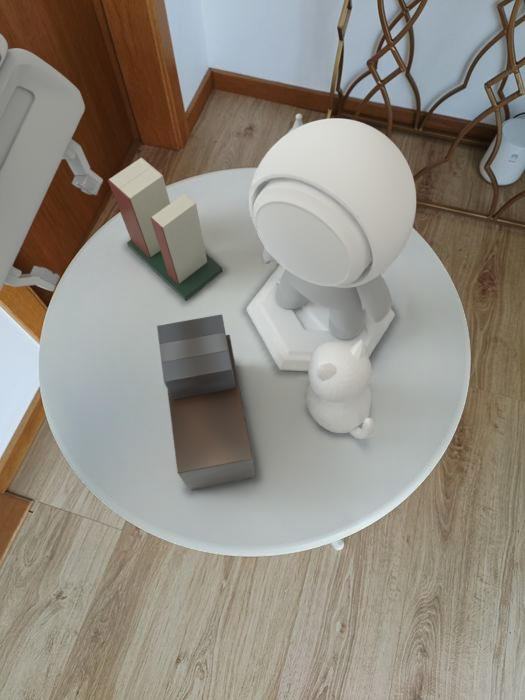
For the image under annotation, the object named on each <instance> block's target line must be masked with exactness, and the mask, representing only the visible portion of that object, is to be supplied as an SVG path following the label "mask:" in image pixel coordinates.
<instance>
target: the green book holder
mask: <svg viewBox="0 0 525 700" xmlns="http://www.w3.org/2000/svg"><path fill="white" fill-rule="evenodd" d="M107 183H108V184H109V187H110V190H111V192H112V194H113V197H114V200H115V203H116V205H117V207H118V210H119V212H120V215H121V218H122V220H123V223H124V225H125V228H126V230H127V233H128V236H129V238H130V239H129V240H128V241H127V242H126V245H127V247H128V248H129V249H130V250H131V251H132V252H133V253H134V254H135V255H137V256H138V258H140V259H141V260H142V261H143V262H144V263H145V264H146V265H147V266H148V267H149V268H150V269H151V270H152V271H153V272H154V273H156V274H157V275H158V276H159V277H160V278H161V279H162V280H163V281H164V282H165V283H166V284H167V285H168V286H169V287H170V288H172V289H173V291H174V292H176V293H177V294H178V296H180V297H181V298H182V299H183V300H184V301H185V302H186V301H188V300H189V299H190V298H191V297H192V296H194V295H195V294H196V293H197V292H199V291H200V290H201V289H203V288H204V287H205V286H206V285H208V284H209V283H210V282H211V281H212V280H214V279H215V278H217V277H218V276H219V275H220V274H221V273H222V272H223V271H224V270H223V269H224V268H223V267H222V266H221V265H220V264H219V263H217V262H216V261H215V260H214V259H213V258H212V257H211V256H210V255H208V254H207V253H206V257H207V263H205V264H204V265H203V266H202V267H200V268H199V269H198V270H196V271H195V272H194V273H193V274H191V275H190V276H189V277H187V278H186V279H185V280H184V281H182V282H181V283H180V284H177V283H176V282H175V281H174V280H173V279H172V278H171V277H170V276H169V275H168V272H167V269H166V266H165V262H164V259H163V256H162V253H161V250H160V247H159V244H158V241H157V237H156V234H155V231H154V228H153V225H152V222H151V219H150V218H151V217H152V216H154V215H155V214H157V213H158V212H159V211H161V210H162V209H163V208H165V207H166V206H168V205H169V204H170V203H171V202H170V198H169V193H168V190H167V187H166V182H165V178H164V175H163V174H162V173H160V172H159V171H158V170H157V169H156V168H155V167H154V166H152V165H151V164H150V163H148V162H147V161H146V160H145V159H144V158H143V157H139V159H137V160H136V161H134V162H132V163H131V164H129V165H128V166H126V167H125V168H124V169H122V170H120V171H119V172H117V173H116V174H114V175H113V176H112V177H110V178H109V179H107Z"/></svg>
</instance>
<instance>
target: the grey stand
mask: <svg viewBox="0 0 525 700" xmlns="http://www.w3.org/2000/svg"><path fill="white" fill-rule="evenodd" d="M156 330H157V337H158V346H159V355H160V361H161V369H162V371H161V372H162V379H163V383H164V385H165V387H166V389H167V397H168V398H167V399H168V407H169V415H170V423H171V430H172V439H173V447H174V454H175V463H176V472H177V474H178V476H179V478H181V480H182V482H183V483H184V485H186V487H187V489H188V490H189V491H193V490H198V489H203V488H208V487H213V486H218V485H223V484H228V483H233V482H238V481H243V480H248V479H249V480H250V479H253V478H256V471H255V465H254V464H255V463H254V458H253V452H252V447H251V442H250V437H249V431H248V425H247V420H246V415H245V409H244V405H243V404H244V403H243V398H242V393H241V388H240V382H239V377H238V372H237V367H236V361H235V355H234V350H233V346H232V340H231V335H230V334H226V329H225V323H224V317H223V314H216V315H210V316H205V317H199V318H194V319H188V320H182V321H176V322H170V323H166V324H159V325H157V326H156Z"/></svg>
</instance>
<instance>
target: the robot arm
mask: <svg viewBox="0 0 525 700" xmlns="http://www.w3.org/2000/svg"><path fill="white" fill-rule="evenodd" d="M85 110H86V105H85V102H84V99H83V96H82V93H81V91H80V89H78V87H77V86H76V85H74V84H73V82H71V81H70V80H69V79H68V78H67V77H66V76H64V75H63V74H62V73H61V72H60V71H58V70H57V69H55V67H54V66H52V65H50V64H49V63H48V62H46V61H45V60H43V59H42V58H40V57H39V56H38V55H36V54H34V53H33V52H31V51H29V50H26V49H23V48H19V47H13V48H9V44H8V42H7V40H6V38H5V37H4V36H3V34H1V33H0V292H1V291H2V289H3V287H4V285H7V286H10V287H14V288H19V287H28V286H36V287H39V288H41V289H44V290H46V291H50V292H54V291H55V289H56V287H57V286H58V285H57V284H58V283H59V280H60V277H61V275H59V274H58V273H56V272H53V271H52V270H50V269H48V268H46V267H43V266H38V265H33V267H32V268H31V271H30V273H22V270H21V269H18V268H16V267H14V263H15V261H16V259H17V256H18V254H19V253H20V250H21V248H22V245H24V241H25V240H26V237H27V235H28V234H29V231H30V229H31V226H32V224H33V222H34V220H35V218H36V215H37V213H38V211H39V209H40V207H41V205H42V203H43V201H44V198H45V197H46V195H47V192H48V190H49V188H50V186H51V183H52V182H53V180H54V177H55V175H56V173H57V171H58V169H59V166H60V164H61V162H62V160H66V162H67V164H68V166H69V168H70V170H71V172H72V173H73V175H74V177H73V180H72V182H71V184H72V185H73V186H74V187H76V188H77V189H80V191H81V192H83V193H84V194H86V195H89V196H92V195H94V196H98V193H99V190H100V189H101V186H102V184H103V182H104V180H103V179H104V178H102V177H100V176H99V175H98V174H97V173H96V172H94V171H93V170H92V169H91V166H90V164H89V162H88V160H87V157H86V155H85V153H84V150H83V148H82V145H80V144H79V143H77V142H76V141H75V140H74V139H73V136H74V134H75V132H76V130H77V127H78V125H79V124H80V121H81V119H82V117H83V115H84V113H85Z"/></svg>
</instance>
